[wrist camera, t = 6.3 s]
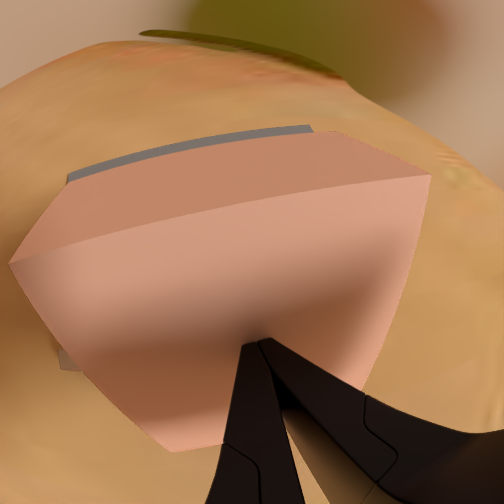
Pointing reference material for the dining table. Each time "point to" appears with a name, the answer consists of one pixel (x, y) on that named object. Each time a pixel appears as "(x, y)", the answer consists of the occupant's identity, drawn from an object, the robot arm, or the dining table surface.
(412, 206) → the terracotta block
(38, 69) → the dining table surface
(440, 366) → the dining table surface
